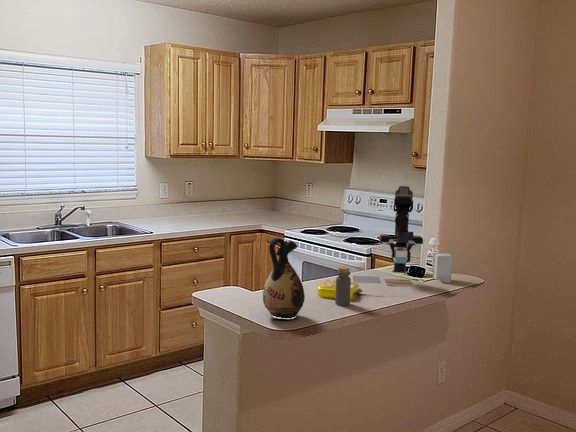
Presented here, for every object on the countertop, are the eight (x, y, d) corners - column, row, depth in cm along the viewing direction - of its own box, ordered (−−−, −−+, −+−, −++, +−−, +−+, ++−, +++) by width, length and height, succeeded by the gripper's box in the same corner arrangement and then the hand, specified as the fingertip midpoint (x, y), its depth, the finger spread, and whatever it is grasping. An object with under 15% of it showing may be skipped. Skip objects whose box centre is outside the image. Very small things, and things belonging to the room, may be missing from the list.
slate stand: (352, 278, 277) (352, 275, 277) (378, 279, 277) (378, 276, 276) (354, 285, 265) (354, 282, 265) (381, 286, 265) (381, 283, 265)
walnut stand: (383, 282, 273) (383, 279, 272) (409, 283, 272) (410, 279, 272) (387, 289, 261) (387, 285, 261) (414, 290, 260) (414, 286, 260)
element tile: (351, 302, 241) (352, 290, 241) (316, 297, 246) (316, 286, 245) (359, 292, 255) (359, 282, 255) (325, 288, 260) (326, 278, 259)
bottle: (345, 307, 233) (347, 269, 231) (332, 304, 236) (334, 267, 234) (352, 303, 238) (353, 267, 236) (339, 300, 241) (340, 265, 239)
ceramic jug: (284, 308, 229) (286, 232, 225) (312, 318, 218) (315, 238, 214) (250, 316, 218) (251, 236, 213) (278, 327, 207) (280, 243, 202)
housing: (393, 259, 269) (393, 247, 268) (404, 259, 269) (404, 247, 268) (395, 263, 261) (395, 250, 260) (406, 263, 261) (407, 251, 260)
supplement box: (451, 282, 275) (453, 256, 273) (435, 282, 275) (437, 255, 273) (447, 278, 282) (449, 253, 280) (431, 278, 282) (433, 252, 280)
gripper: (382, 225, 255) (380, 261, 257) (426, 227, 254) (424, 262, 256) (380, 221, 266) (378, 255, 268) (421, 223, 265) (419, 257, 267)
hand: (399, 257), depth 265 cm, fingers closed on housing, 5 cm apart
